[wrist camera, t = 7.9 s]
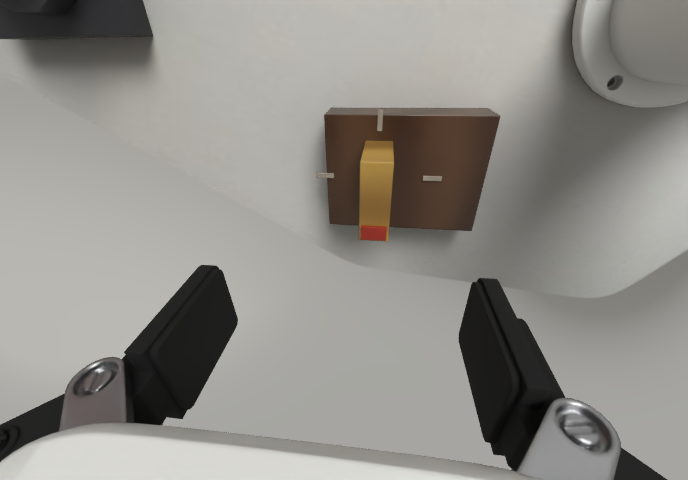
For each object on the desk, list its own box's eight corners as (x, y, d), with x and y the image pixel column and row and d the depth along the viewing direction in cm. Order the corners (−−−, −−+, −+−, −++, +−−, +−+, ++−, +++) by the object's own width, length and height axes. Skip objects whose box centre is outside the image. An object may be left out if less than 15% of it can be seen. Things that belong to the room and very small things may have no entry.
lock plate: (489, 103, 22) (502, 110, 19) (463, 217, 27) (471, 235, 25) (320, 102, 24) (311, 109, 21) (326, 211, 29) (319, 228, 26)
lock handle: (365, 140, 22) (359, 162, 17) (393, 140, 21) (394, 164, 17) (363, 207, 25) (358, 241, 20) (388, 209, 24) (387, 243, 20)
